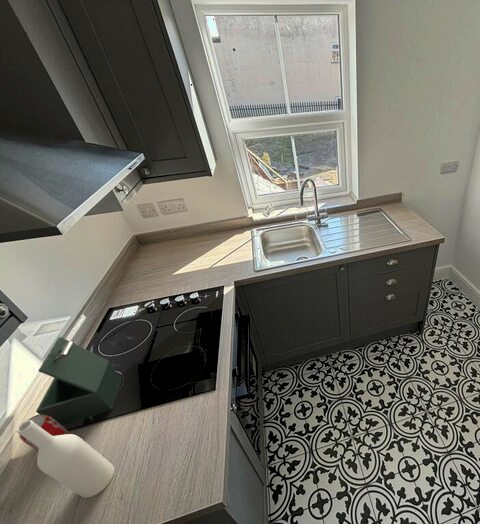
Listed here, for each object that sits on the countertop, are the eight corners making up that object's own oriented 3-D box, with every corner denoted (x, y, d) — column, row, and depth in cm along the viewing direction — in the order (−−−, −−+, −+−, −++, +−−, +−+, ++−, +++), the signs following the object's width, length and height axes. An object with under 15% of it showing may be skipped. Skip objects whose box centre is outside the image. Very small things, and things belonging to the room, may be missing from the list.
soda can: (74, 443, 89) (49, 423, 82) (44, 462, 85) (15, 443, 78) (70, 427, 93) (46, 407, 86) (41, 445, 89) (14, 425, 82)
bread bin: (55, 427, 93) (35, 411, 87) (71, 393, 103) (54, 376, 97) (112, 410, 97) (96, 393, 91) (122, 378, 107) (108, 362, 101)
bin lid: (37, 371, 81) (52, 362, 81) (58, 338, 91) (71, 329, 91) (94, 393, 91) (107, 385, 91) (106, 361, 101) (118, 354, 101)
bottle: (94, 502, 76) (14, 450, 59) (72, 492, 78) (-12, 440, 61) (121, 468, 83) (56, 412, 66) (100, 459, 85) (32, 403, 68)
